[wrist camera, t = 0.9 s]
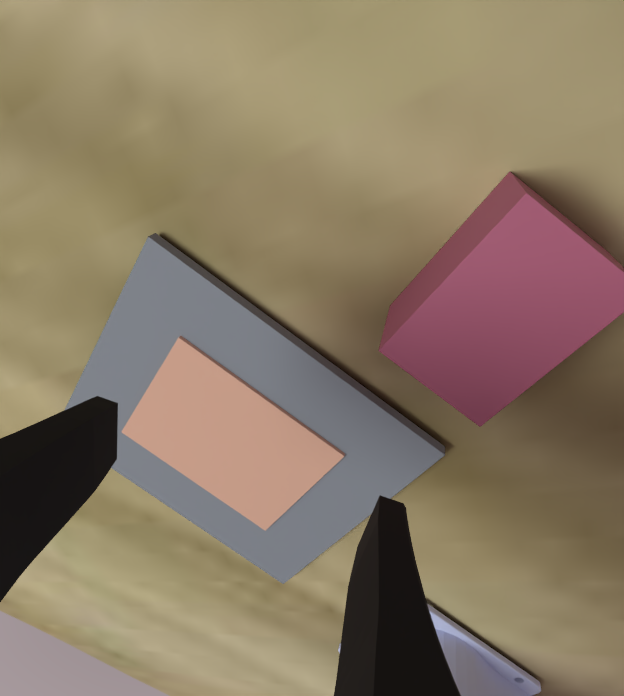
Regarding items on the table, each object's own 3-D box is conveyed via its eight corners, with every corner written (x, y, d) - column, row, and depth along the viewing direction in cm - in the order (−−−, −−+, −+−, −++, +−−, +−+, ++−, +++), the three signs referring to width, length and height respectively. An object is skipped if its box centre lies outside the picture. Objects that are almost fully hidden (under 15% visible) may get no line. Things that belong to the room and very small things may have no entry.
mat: (444, 446, 22) (444, 457, 21) (286, 575, 29) (282, 586, 29) (155, 233, 21) (145, 237, 20) (62, 423, 28) (52, 432, 27)
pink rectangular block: (607, 251, 17) (648, 292, 13) (474, 369, 20) (479, 426, 17) (509, 171, 16) (526, 193, 13) (390, 305, 20) (378, 350, 16)
